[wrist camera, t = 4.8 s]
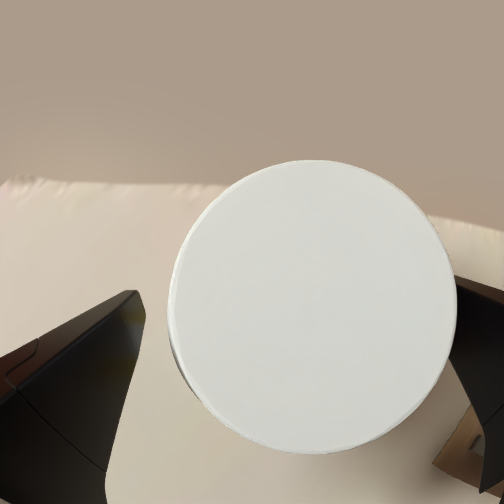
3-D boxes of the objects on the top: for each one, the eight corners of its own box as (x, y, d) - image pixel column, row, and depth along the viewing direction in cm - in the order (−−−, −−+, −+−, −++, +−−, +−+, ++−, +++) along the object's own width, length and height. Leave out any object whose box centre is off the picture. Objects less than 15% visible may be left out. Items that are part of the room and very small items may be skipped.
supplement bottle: (342, 365, 16) (509, 421, 3) (226, 391, 16) (163, 530, 3) (316, 253, 18) (427, 106, 5) (203, 276, 17) (96, 154, 5)
